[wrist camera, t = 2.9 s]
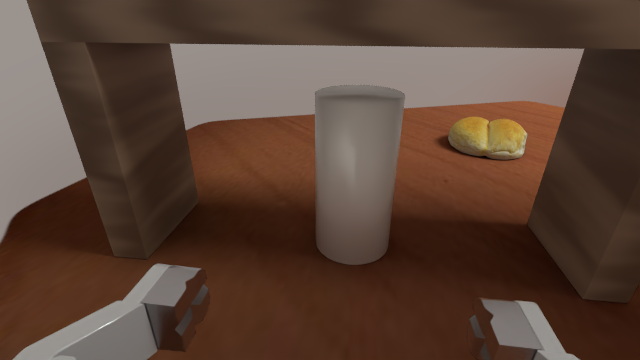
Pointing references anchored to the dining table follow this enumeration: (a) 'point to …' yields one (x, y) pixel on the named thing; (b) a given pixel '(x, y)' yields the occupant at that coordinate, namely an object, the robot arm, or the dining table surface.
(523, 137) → the bread roll
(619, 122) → the arch
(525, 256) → the dining table surface
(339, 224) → the white cylinder
